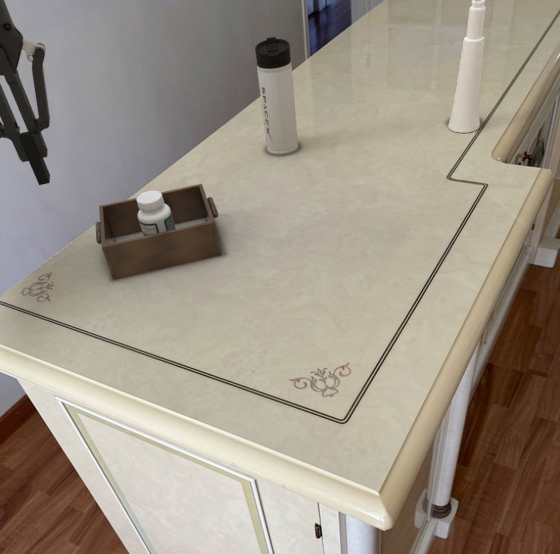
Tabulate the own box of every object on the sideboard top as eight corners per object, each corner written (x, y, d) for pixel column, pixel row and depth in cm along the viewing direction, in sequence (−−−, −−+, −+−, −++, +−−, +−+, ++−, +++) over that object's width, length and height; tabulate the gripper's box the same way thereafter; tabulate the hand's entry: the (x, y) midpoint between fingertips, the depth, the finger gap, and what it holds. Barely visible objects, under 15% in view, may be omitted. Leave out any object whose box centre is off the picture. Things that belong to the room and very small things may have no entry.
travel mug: (297, 142, 120) (288, 34, 106) (299, 157, 115) (290, 45, 101) (266, 146, 120) (253, 39, 106) (268, 161, 116) (254, 50, 101)
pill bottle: (172, 233, 99) (159, 184, 93) (184, 247, 95) (171, 197, 89) (143, 244, 97) (128, 195, 91) (153, 258, 94) (138, 209, 88)
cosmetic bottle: (470, 118, 120) (485, -7, 104) (485, 129, 116) (503, 1, 100) (442, 124, 119) (454, -1, 104) (456, 135, 115) (470, 7, 99)
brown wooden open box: (108, 285, 91) (94, 249, 86) (105, 241, 100) (92, 207, 96) (228, 257, 93) (221, 220, 88) (214, 217, 102) (207, 182, 98)
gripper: (-101, 7, 64) (-4, 202, 81) (19, -15, 66) (90, 181, 82) (-87, -7, 70) (1, 178, 86) (23, -27, 71) (89, 159, 88)
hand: (44, 179), depth 84 cm, fingers closed
